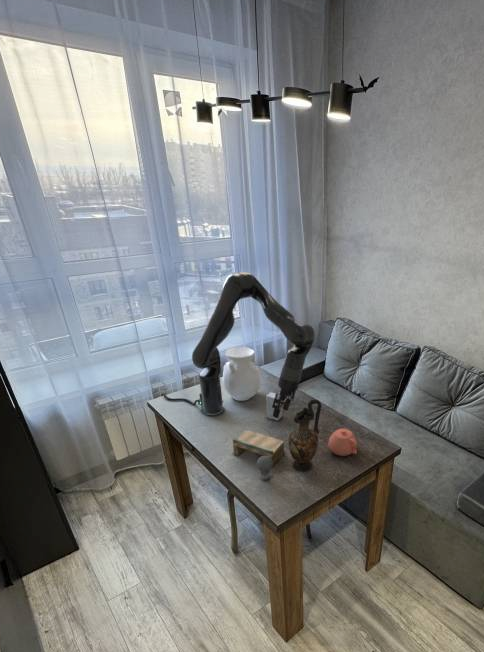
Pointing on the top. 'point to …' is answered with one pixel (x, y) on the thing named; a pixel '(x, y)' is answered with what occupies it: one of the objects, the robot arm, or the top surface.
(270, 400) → the cosmetic box
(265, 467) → the light bulb
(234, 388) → the pitcher
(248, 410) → the top surface
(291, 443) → the vase
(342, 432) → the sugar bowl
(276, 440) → the wooden step stool
